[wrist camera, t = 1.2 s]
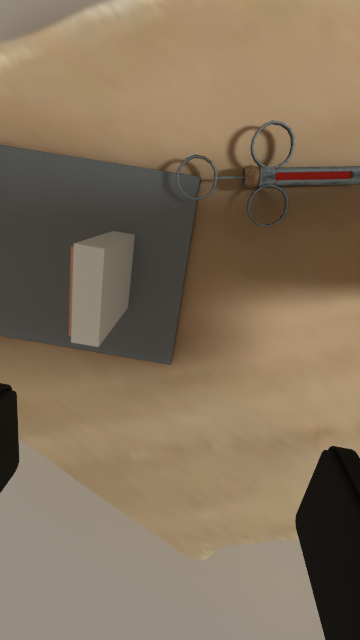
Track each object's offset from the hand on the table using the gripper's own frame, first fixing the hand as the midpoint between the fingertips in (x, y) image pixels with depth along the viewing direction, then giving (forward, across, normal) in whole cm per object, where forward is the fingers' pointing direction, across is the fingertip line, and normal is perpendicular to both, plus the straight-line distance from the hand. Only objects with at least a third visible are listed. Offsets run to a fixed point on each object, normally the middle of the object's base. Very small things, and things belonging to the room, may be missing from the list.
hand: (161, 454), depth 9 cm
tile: (+22, +7, 0) cm, 23 cm away
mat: (+22, +12, 0) cm, 25 cm away
